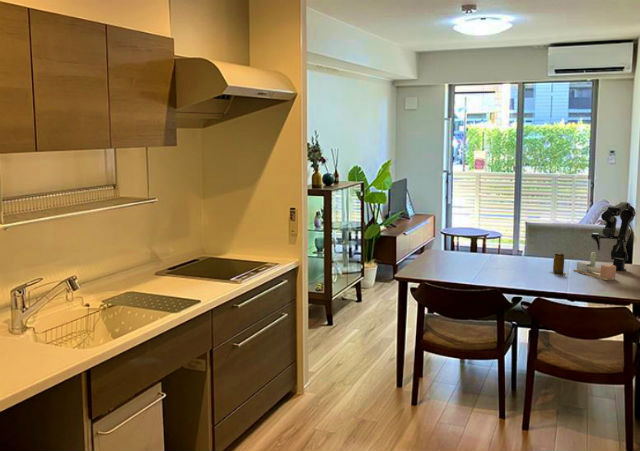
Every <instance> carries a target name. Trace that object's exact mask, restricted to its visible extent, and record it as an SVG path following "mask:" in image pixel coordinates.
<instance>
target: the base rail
mask: <svg viewBox="0 0 640 451" xmlns="http://www.w3.org/2000/svg"><path fill="white" fill-rule="evenodd" d="M572 271H573V272H576V273H579V274H583V275H585V276H586V275H587V276H590V277H593V278H597V279H601V280H604V281H610V280H611V281H613V280H616V277H615V278H607V279H606V278H602V277H600V274H599V273H595V272H587V273H586V272H583V271H579V270H577V268H573V270H572Z"/></svg>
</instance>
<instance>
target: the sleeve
mask: <svg viewBox="0 0 640 451" xmlns="http://www.w3.org/2000/svg"><path fill="white" fill-rule="evenodd" d="M588 265H590V262H587V261H583V260H582V261H577V262H576V269H577V270H579V271H583V272H586V273H587V272H592V271H588V270H587V267H588Z"/></svg>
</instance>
